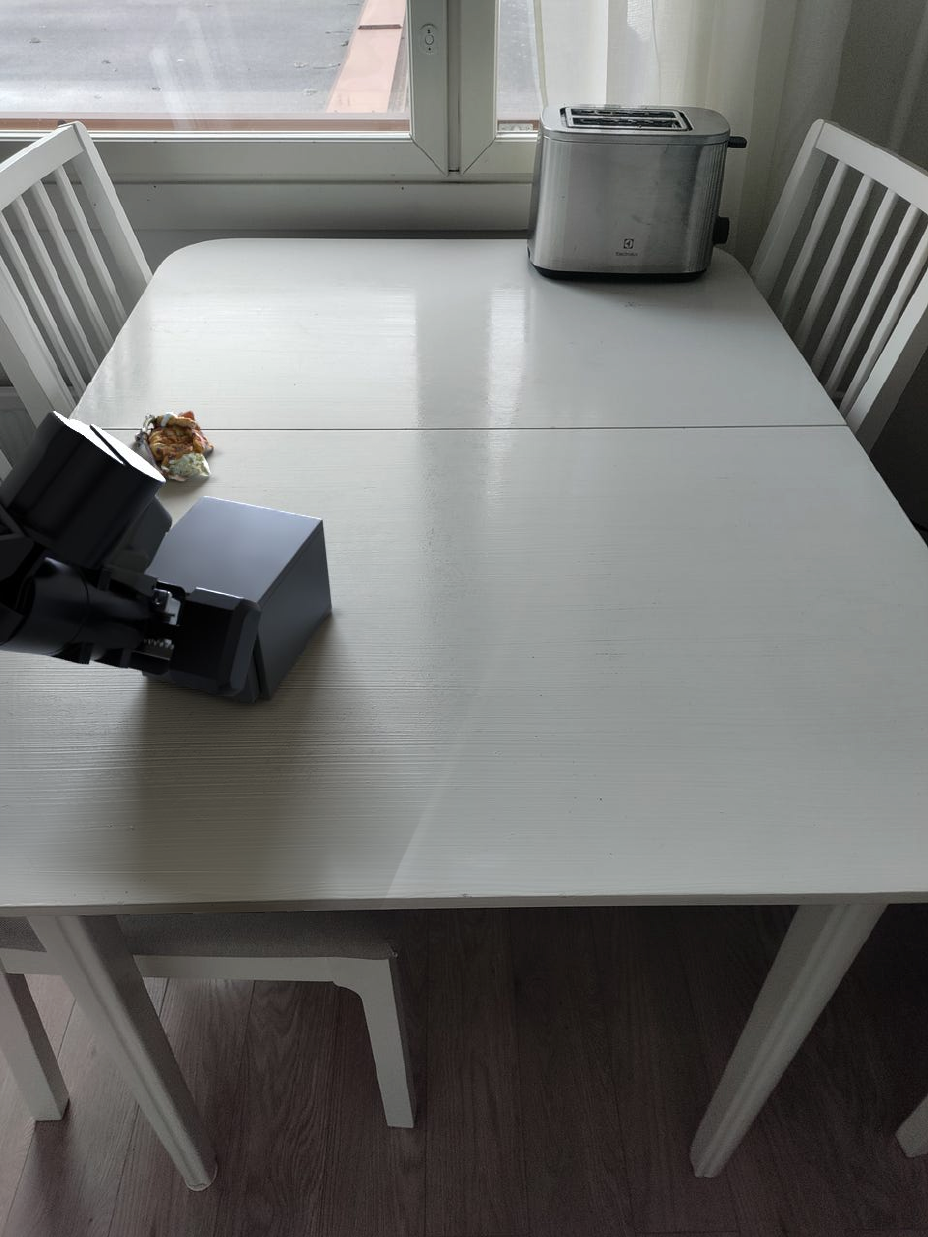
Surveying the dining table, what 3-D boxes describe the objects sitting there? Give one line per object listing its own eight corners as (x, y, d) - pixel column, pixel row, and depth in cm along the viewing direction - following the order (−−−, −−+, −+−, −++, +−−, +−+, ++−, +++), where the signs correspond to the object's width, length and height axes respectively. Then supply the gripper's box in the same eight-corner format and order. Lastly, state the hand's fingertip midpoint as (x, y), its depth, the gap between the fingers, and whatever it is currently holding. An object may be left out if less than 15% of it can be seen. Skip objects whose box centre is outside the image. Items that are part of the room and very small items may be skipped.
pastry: (167, 489, 98) (160, 458, 95) (131, 438, 105) (124, 409, 103) (232, 470, 100) (227, 440, 98) (193, 422, 108) (187, 393, 106)
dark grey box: (270, 700, 75) (253, 608, 69) (147, 670, 77) (121, 578, 71) (332, 608, 83) (323, 518, 77) (220, 584, 86) (203, 495, 80)
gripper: (222, 498, 53) (324, 548, 68) (-54, 443, 58) (99, 501, 73) (174, 694, 52) (287, 700, 68) (-102, 623, 57) (62, 644, 72)
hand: (181, 630), depth 70 cm, fingers closed, pressing on fryer drawer
